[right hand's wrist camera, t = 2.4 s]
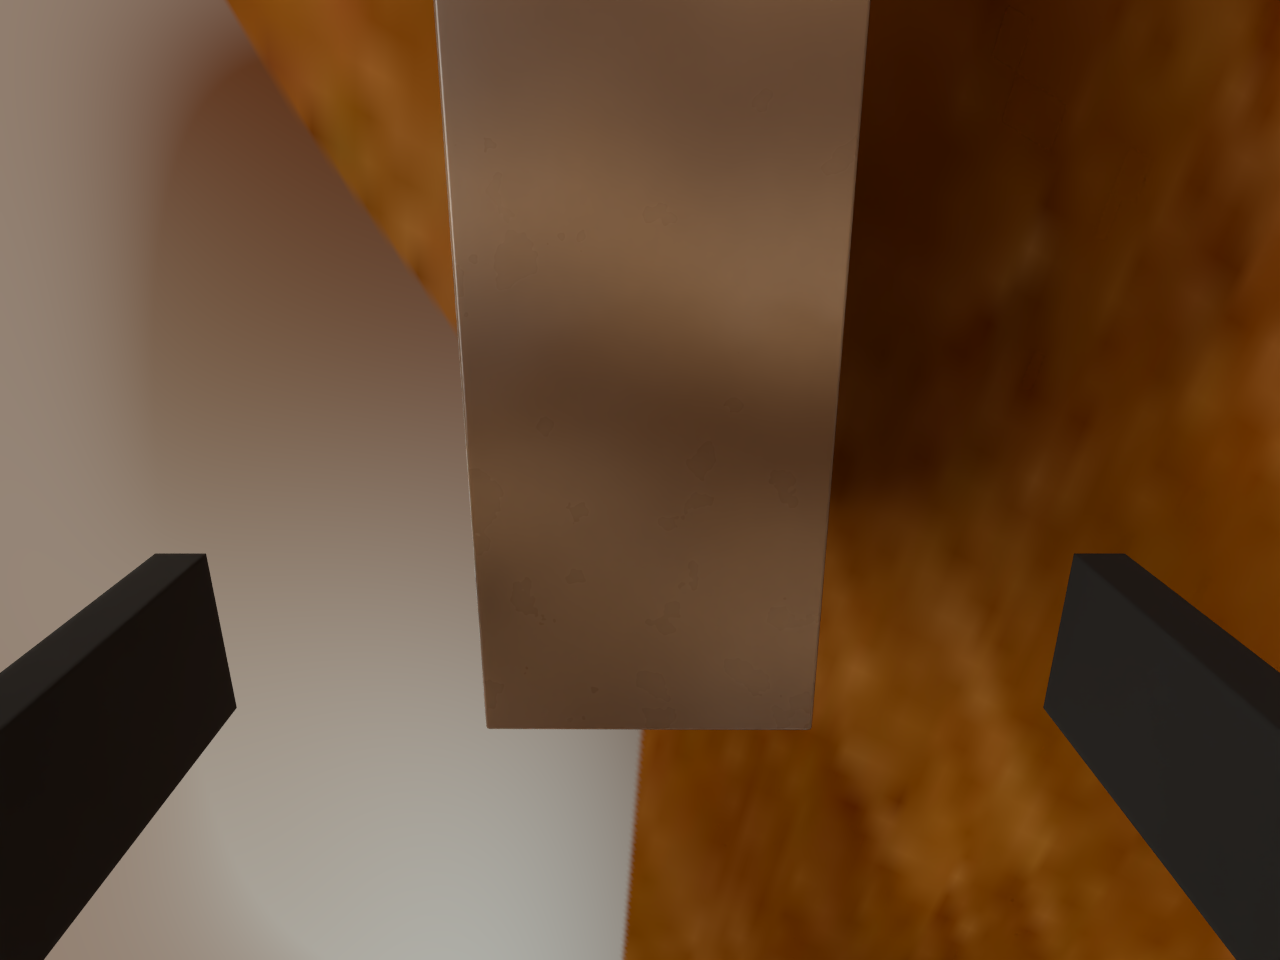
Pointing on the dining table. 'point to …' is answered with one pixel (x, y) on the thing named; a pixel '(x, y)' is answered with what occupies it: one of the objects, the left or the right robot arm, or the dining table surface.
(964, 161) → the dining table surface
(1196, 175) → the dining table surface
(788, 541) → the box
